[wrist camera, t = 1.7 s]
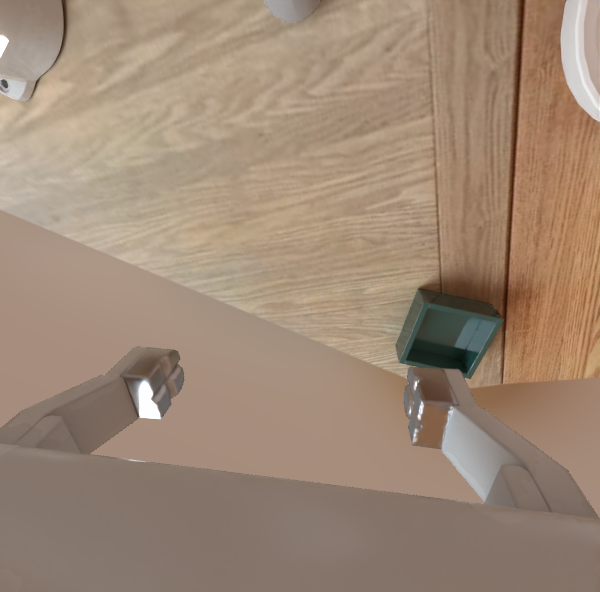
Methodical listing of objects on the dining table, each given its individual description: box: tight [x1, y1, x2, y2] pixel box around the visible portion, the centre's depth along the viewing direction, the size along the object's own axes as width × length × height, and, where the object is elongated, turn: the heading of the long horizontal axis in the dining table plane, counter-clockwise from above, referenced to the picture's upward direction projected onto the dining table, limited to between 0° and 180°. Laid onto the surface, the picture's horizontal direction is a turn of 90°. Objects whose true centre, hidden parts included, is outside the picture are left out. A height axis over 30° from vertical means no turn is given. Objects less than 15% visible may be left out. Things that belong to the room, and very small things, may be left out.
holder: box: [396, 289, 504, 379], centre depth 40 cm, size 9×9×4 cm
